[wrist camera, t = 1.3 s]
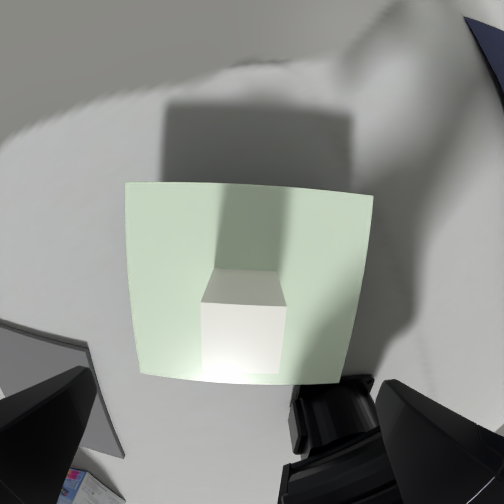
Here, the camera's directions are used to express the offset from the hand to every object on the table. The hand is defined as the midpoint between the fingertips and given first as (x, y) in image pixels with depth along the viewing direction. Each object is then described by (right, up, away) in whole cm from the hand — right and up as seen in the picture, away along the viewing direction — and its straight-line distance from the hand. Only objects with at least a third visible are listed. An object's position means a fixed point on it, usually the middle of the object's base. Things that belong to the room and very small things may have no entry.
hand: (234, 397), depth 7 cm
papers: (+36, +16, +9) cm, 40 cm away
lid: (0, +2, +8) cm, 9 cm away
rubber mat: (-23, -11, +15) cm, 29 cm away
